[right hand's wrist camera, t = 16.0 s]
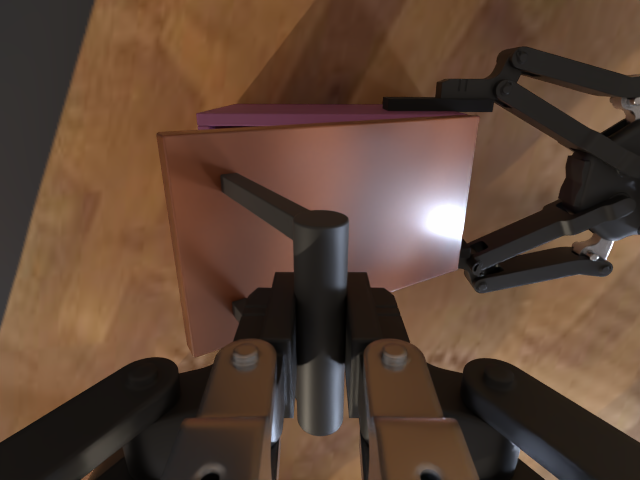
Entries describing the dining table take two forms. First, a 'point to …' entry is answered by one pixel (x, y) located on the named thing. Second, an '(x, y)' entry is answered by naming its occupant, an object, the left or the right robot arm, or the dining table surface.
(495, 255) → the left robot arm
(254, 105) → the chest
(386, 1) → the dining table surface
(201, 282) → the lid
